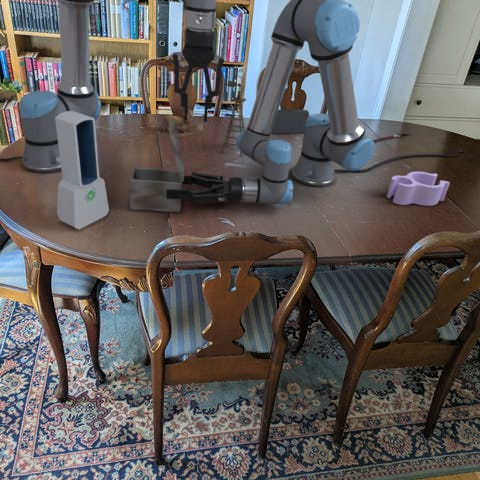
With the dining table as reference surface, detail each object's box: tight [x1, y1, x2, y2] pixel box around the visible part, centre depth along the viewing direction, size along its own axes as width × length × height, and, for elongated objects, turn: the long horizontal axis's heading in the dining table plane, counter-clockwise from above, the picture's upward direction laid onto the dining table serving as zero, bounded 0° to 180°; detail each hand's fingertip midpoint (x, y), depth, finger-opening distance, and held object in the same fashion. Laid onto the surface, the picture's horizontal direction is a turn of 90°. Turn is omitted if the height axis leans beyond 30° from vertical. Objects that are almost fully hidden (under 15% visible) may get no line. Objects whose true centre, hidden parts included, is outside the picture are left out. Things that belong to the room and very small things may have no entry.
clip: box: [386, 171, 450, 207], centre depth 162 cm, size 20×12×7 cm, turn 109°
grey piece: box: [168, 119, 204, 182], centre depth 134 cm, size 16×9×9 cm
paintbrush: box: [372, 133, 409, 143], centre depth 213 cm, size 31×3×1 cm, turn 126°
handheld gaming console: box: [270, 109, 310, 135], centre depth 205 cm, size 23×3×10 cm, turn 108°
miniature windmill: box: [221, 72, 247, 156], centre depth 177 cm, size 9×8×30 cm
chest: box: [129, 166, 183, 213], centre depth 141 cm, size 15×9×10 cm, turn 94°
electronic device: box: [55, 111, 110, 231], centre depth 124 cm, size 12×8×30 cm, turn 148°
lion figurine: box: [158, 109, 194, 133], centre depth 194 cm, size 15×5×9 cm, turn 110°
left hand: (195, 119), depth 130 cm, fingers open, 5 cm apart
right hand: (167, 186), depth 140 cm, fingers closed on chest, 9 cm apart
